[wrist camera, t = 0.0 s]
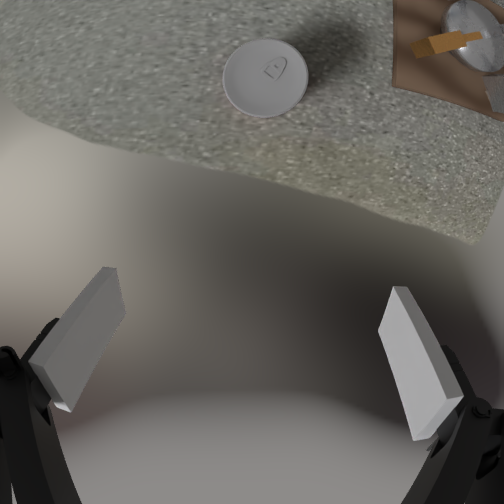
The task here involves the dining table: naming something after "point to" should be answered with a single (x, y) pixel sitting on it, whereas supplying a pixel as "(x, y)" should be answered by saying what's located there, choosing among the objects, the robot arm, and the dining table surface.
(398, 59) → the wooden base plate
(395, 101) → the dining table surface
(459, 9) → the silver spoked hub
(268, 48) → the canned food
